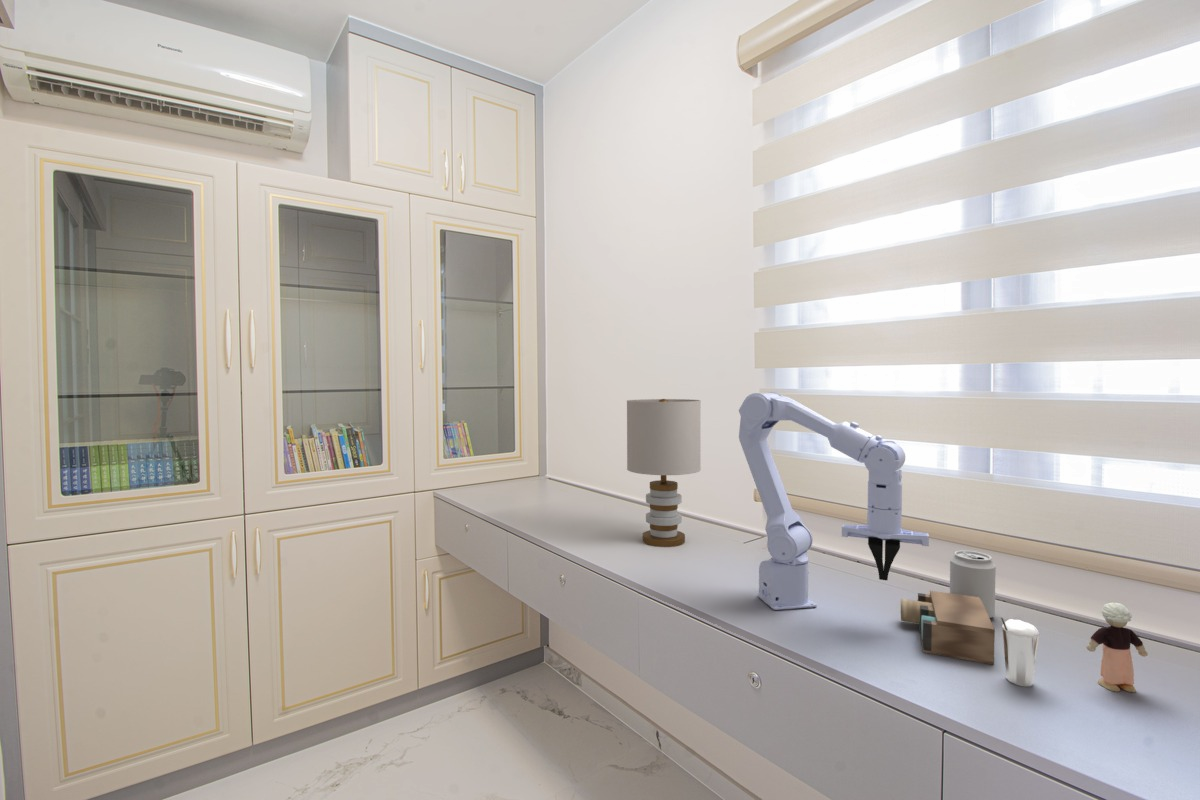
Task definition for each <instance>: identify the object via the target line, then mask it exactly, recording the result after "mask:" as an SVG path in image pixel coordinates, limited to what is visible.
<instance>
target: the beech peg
mask: <svg viewBox="0 0 1200 800" xmlns="http://www.w3.org/2000/svg"><path fill="white" fill-rule="evenodd" d="M920 605H923V606H930V607H933V605H932V603H928V602H921V601H918V600H913V599H907V598H900V621H901V622H907V623H913V624H918V625H919V624H920Z"/></svg>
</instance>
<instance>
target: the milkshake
mask: <svg viewBox="0 0 1200 800" xmlns="http://www.w3.org/2000/svg"><path fill="white" fill-rule="evenodd" d="M1000 619H1001V622H1002V625H1001V628H1002V638H1003V639H1002V640H1003V650H1004V665H1005V666H1004V667H1005V668H1004V669H1005V679H1007V681H1008V682H1009V683H1012V684H1013V685H1015V686H1020V687H1024V688H1025V687H1032V686H1033V685H1034V679H1035V669H1036V659H1037V658H1036V657H1037V651H1038V645H1039V639H1040V632H1039V630H1038V629H1037V627H1036V626H1035V625H1033V624H1031V623H1029V622H1026V621H1023V620H1021V619H1013V618H1010V619H1007V620H1006V621H1005V619H1004V618H1003V617H1000Z"/></svg>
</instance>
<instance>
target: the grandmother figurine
mask: <svg viewBox="0 0 1200 800" xmlns="http://www.w3.org/2000/svg"><path fill="white" fill-rule="evenodd" d="M1101 614H1102V617H1103V618H1104V620H1105V621H1106V623H1107V624H1108V625H1110V626H1106V627H1100V628H1098V629H1097V630H1096V631H1095V632H1094V633H1093V634H1092V635H1091V636H1090V640H1089V641H1088V644H1087V645H1086V650H1087V651H1089V652H1093V653H1094V652H1095V651H1096V649H1097V648H1098V647H1099V645H1102V658H1101V665H1100V676H1101V677H1102V678H1100V679H1099V680H1098V681H1097V682H1098V685H1100V686H1101V687H1103V688H1105V689H1106V690H1108V691H1112V692H1120V691H1121V689H1122V690H1123V691H1126V692H1130V693H1136V692H1137V690H1136V688H1135V685H1134V684H1135V678H1134V677H1135V671H1134V670H1135V669H1134V665H1133V660H1132V658H1133V656H1132V653H1131V645H1133V646H1134V648H1135V650H1137V652H1138V655H1139V656H1141V657H1147V656H1148V654H1149V653H1148V651H1147V650H1146V648H1145V645H1144V643H1143V641H1142V640H1141V639H1140V638H1139V636H1138V634H1137V633H1135V632H1134V631H1133V630H1132V628H1131V629H1130V628H1128V627H1126V626H1127V624H1128V622H1131V621H1132V617H1133V616H1132V614H1131V612H1130V610H1129V609H1128V608H1127V607H1126V606H1125V605H1124V604H1123V603H1119V602H1108V603H1105V604H1104V605H1103V606H1102V609H1101Z"/></svg>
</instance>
